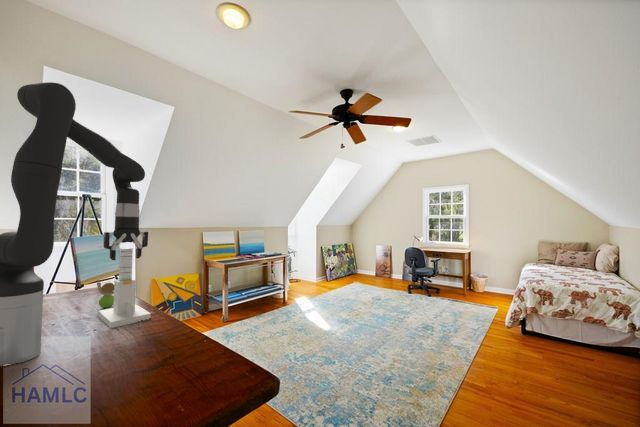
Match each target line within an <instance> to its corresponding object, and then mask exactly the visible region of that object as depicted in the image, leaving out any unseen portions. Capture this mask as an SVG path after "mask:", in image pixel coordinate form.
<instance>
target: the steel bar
mask: <svg viewBox="0 0 640 427" xmlns="http://www.w3.org/2000/svg"><path fill="white" fill-rule="evenodd" d="M133 251H134V249H133V248H132V247H120V248H119V270H118V279H119V281H128V280H132V278H133V257H134V256H133Z"/></svg>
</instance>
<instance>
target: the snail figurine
mask: <svg viewBox="0 0 640 427" xmlns="http://www.w3.org/2000/svg"><path fill="white" fill-rule="evenodd" d="M99 280H100V279H96V282H97V283H96V287H97V290H98V292H99V294H101V295H102V296H100V298H99V300H98V305H99V306H100V308H103V309H109V308H112V307H114V283H113V282H106V283H104V284H103V285H102V282H101V281H99Z"/></svg>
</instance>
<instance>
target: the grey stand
mask: <svg viewBox="0 0 640 427" xmlns="http://www.w3.org/2000/svg"><path fill="white" fill-rule="evenodd" d="M113 284H114V291H113V292H114V293H113V296H114V305H113V307H109V308H103V309H100V310H97V317H98V318H99V319H101V320H102V321H103V322H104V323H105V324H106V325H107V326H108V327H109V328H110V329H114V328H117V327H121V326H125V325H130V324H134V323H139V322H142V321H141V320H143V321H146V320H145V319H147V320H150V319H149V318H151V317H152V316H151V314H152V313H151V312H149V311H148V310H146V309H144V308H142V307H141V306H140V305H138V304H136V287H137V279H135V278H133V277H132V280H128V281H119V278H117V279H114V283H113ZM138 321H139V322H138Z"/></svg>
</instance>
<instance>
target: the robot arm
mask: <svg viewBox="0 0 640 427" xmlns="http://www.w3.org/2000/svg"><path fill="white" fill-rule="evenodd" d="M16 97H17V100H18V102H19V104H20V105H21V107H22V109H24V110H25V111H26V112H27V113H29V114H30V115H32V116H33V117H35V118H36V122H35V125H34V128H33V130H32V132H31V133H29V134H30V135H29V136H28V137H27V139H25V141H24V142H23V143H22V144H21V146H20V148H18V151H17V152H16V155H15V156H14V159H13V164H12V169H11V176H10V183H11V187H12V191H13V193H14V195H15V198H16V200H17V203H18V206H19V213H20V214H19V221H18V227H17V229H16V230H17V231H7V232H3V233H2V232H1V233H0V366H2V365H5V364H14V365H16V364H15V363H18V364H21V362H22V363H25V362H28V361H29V360H32V359H34V358H36V357H38V356H39V355H40V354H41V353H42V352H41V350H42V332H43V329H42V328H43V309H44V308H43V307H44V306H43V304H44V286H45V282H44V279H43V278H41V277H40V276H38V274H36V272H35V271H34V268H35V267H39V266H41V265H43V264H45V263H46V262H47V261H48V260H49V258H50V257H51V255H52V253H53V249H54V243H55V216H56V215H55V214H56V208H57V198H58V194H59V186H60V182H61V176H62V170H63V163H64V162H63V161H64V156H65V151H66V145H67V140H68V139H69V140H71V141H72V142H74V143H76V144H77V145H79V147H81V148H83V149H84V150H85V151H87V152H88V153H89V154H91V156H93V157H94V158H95V159H96V160H98V161H99V162H100V164H102V165H103V166H105V167H107V168H111V169H113V170H112V172H111V173H112V175H111V176H112V179H113V183H114V188H115V190H116V205H115V206H116V207H115V212H114V230H113V231H110V232H109V231H105V232H103V248H104V249H107V250H109V258H110V260H111V261H116V260H117V259H116V256H117V255H116V253H117V250H116V249H117V248H118V246H119V245H120V244H124V243H133V244H134V246H135V247H136V249H135V259H140V258H141V257H142V254H143V253H142V250H143V248H147V247H148V244H149V231H140V191H139V190H138V189H136V188H133V187H132V184H131V183H138V182H142V181H144V179H145V178H146V172H145V169H144V168H143V166H142V165H141V164H140V163H139V162H137V161H136V160H134V159H133V158H131V157H130V156H127V155H126V154H124V153H122V152H121V151H120V150H119V148H117V147H116V146H115V145H114V144H113V143H112V142H111V141H110V140H108V139H107V138H105V137H104V136H103V135H101V134H99V133H98V132H96V131H94V130H92V129H90V128H88V127H86V126H85V125H83V124H81V123H80V122H78V121H76V120H75V119H74V117H75V112H76V110H77V109H76V108H77V106H76V105H77V104H76V99H75V96H74V94H73V93H72V91H71V90H70V89H69V88H68V87H66V86H65V85H64V84H61V83H59V82H53V81H51V82H45V81H44V82H38V83H37V82H36V83H29V84H25V85H22V86H21V87H19V88H18V90H17V94H16ZM113 236H114V237H115V239H114V241H113V242H112V244H111V245H110V239H111V238H112V237H113ZM139 236H141V239H142V240H141V243H140V240H139V239H138V237H139Z"/></svg>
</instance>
